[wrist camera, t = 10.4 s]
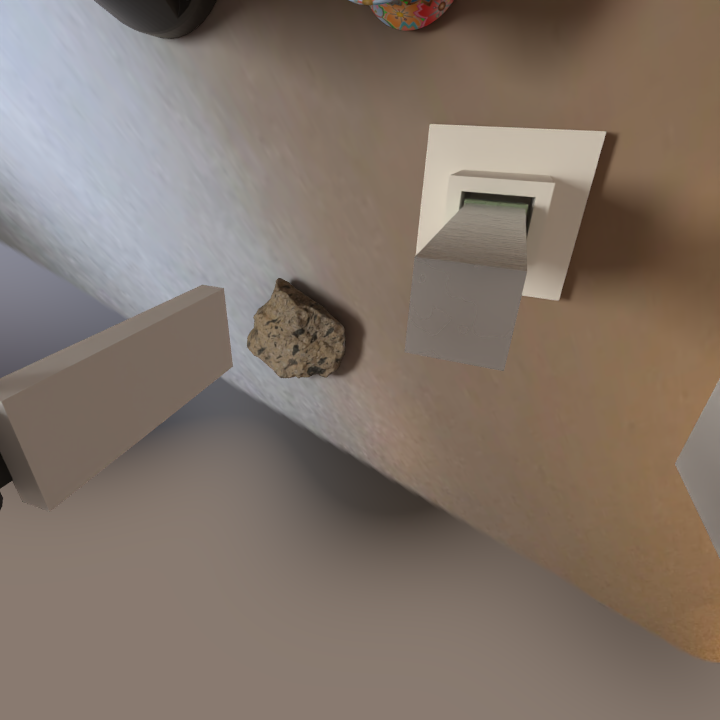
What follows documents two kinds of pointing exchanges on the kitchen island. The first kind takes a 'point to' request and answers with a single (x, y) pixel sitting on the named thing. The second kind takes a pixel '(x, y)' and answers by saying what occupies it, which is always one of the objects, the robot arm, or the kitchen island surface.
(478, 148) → the stand
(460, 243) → the column
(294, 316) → the rock
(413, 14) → the mug
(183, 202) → the kitchen island surface
